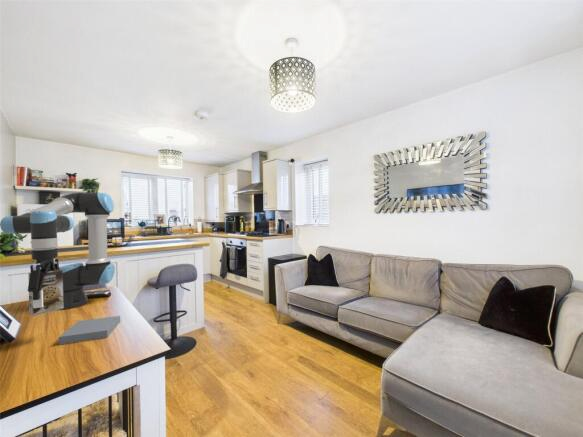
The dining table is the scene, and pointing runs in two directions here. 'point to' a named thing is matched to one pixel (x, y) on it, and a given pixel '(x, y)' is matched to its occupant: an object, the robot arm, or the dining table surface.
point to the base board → (90, 330)
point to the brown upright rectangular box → (49, 293)
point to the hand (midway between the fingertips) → (46, 302)
